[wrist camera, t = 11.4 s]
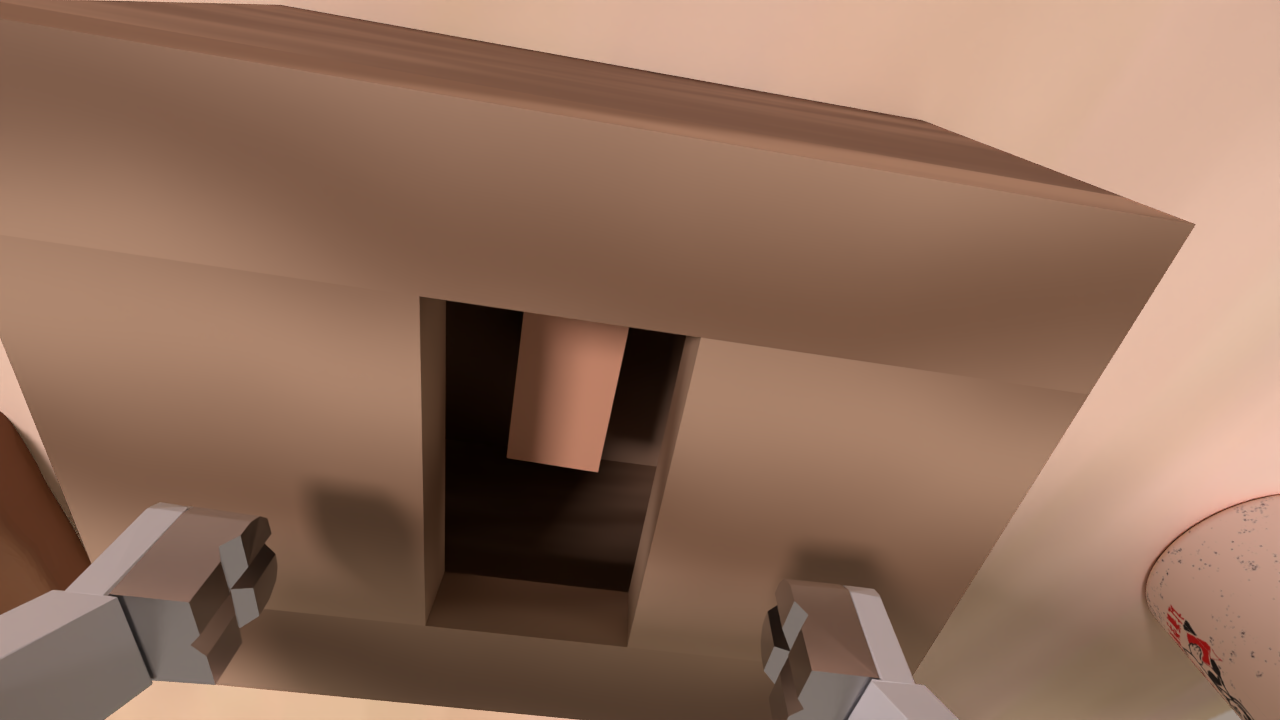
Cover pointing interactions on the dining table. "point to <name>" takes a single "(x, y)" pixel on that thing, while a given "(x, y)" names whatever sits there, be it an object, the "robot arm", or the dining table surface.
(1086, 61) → the dining table surface
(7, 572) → the plant
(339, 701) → the dining table surface
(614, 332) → the orange block
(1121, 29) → the dining table surface
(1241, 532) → the teacup with lid
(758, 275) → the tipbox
